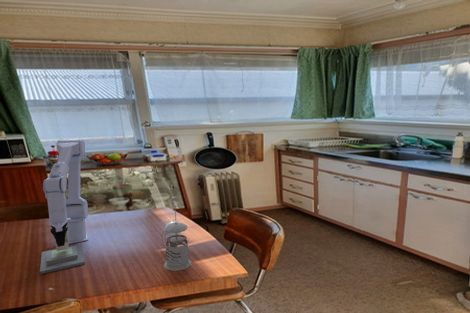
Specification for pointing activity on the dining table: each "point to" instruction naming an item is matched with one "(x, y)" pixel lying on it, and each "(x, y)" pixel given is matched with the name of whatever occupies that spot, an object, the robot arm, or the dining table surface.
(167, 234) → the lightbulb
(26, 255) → the dining table surface
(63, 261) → the stepped stand
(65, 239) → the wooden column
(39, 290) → the dining table surface
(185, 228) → the french press
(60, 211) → the robot arm
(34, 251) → the dining table surface
